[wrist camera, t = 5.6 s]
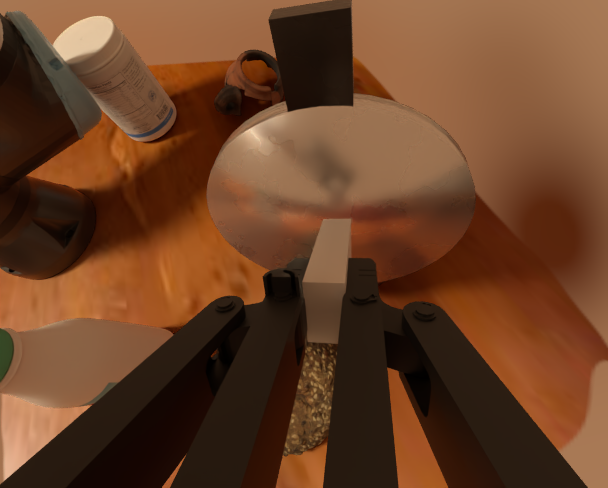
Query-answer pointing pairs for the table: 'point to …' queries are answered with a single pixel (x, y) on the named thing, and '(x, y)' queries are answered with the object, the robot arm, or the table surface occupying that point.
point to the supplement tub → (117, 78)
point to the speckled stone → (312, 399)
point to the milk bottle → (73, 359)
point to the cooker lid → (337, 161)
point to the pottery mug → (247, 85)
